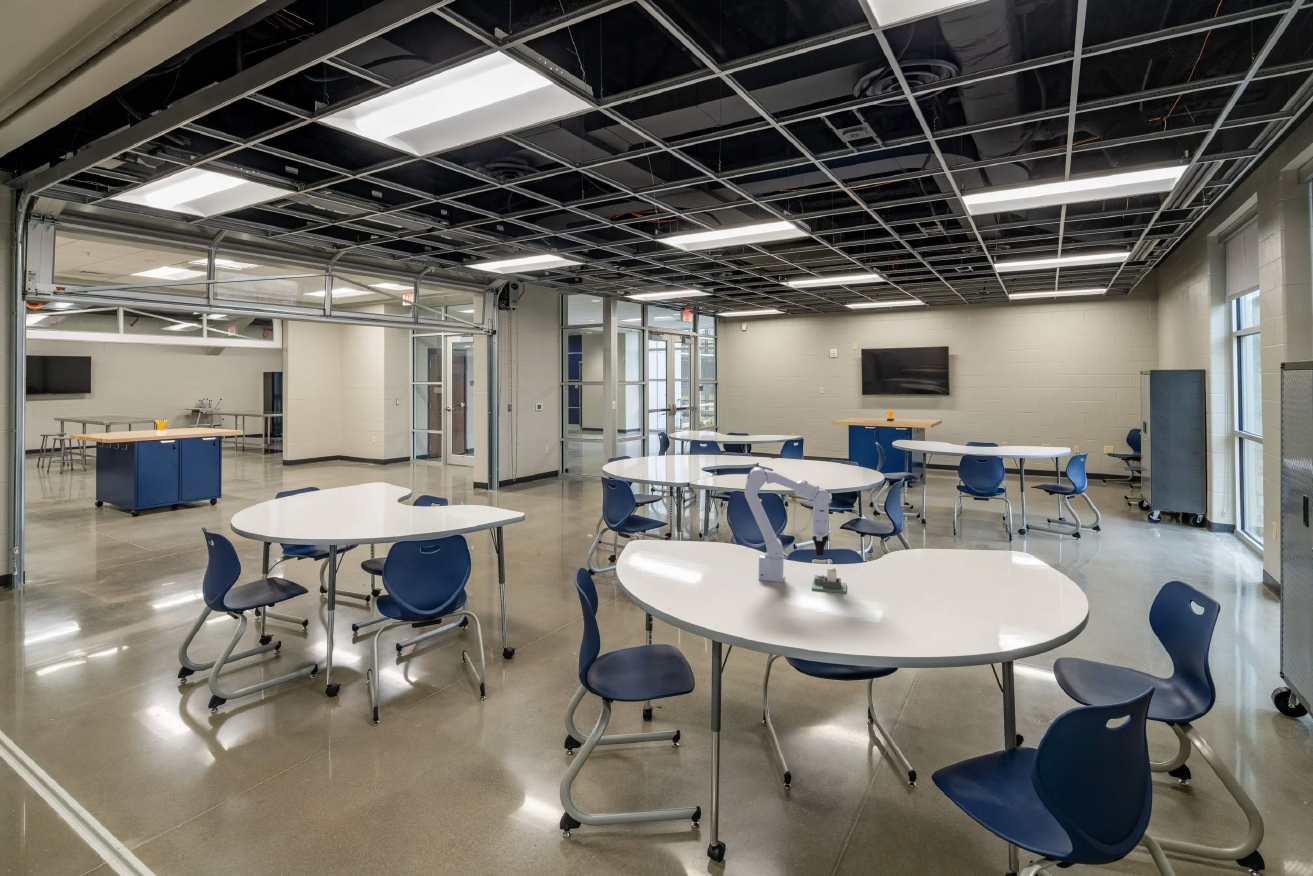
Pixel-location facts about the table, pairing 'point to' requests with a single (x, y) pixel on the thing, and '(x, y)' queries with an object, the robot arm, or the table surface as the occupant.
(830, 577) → the plug
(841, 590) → the board
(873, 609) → the table surface
